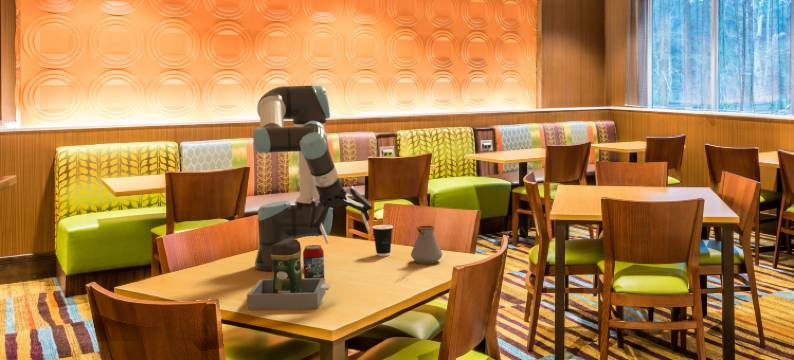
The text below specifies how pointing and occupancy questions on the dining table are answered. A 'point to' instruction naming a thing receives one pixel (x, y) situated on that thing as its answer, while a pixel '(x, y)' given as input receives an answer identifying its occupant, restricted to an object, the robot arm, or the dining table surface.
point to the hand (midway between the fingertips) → (347, 234)
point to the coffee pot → (426, 246)
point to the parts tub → (287, 296)
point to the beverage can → (313, 261)
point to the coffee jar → (287, 266)
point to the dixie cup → (382, 239)
